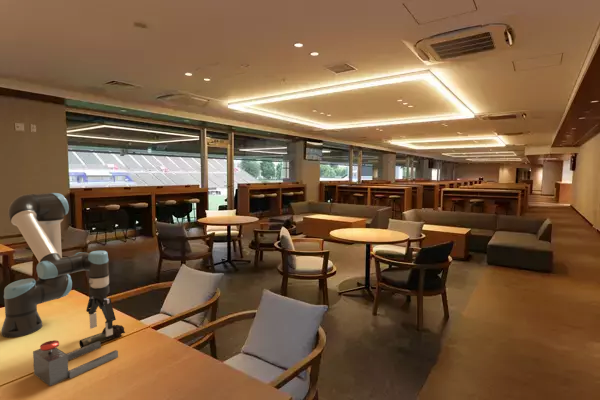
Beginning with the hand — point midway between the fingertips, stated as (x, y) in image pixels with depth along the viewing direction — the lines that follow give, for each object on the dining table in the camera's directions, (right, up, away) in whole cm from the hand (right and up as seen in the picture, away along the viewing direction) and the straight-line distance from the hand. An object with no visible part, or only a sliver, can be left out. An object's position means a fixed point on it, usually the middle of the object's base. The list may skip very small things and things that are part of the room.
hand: (101, 331), depth 155 cm
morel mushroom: (+1, -4, -1) cm, 5 cm away
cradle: (+2, -5, -20) cm, 21 cm away
